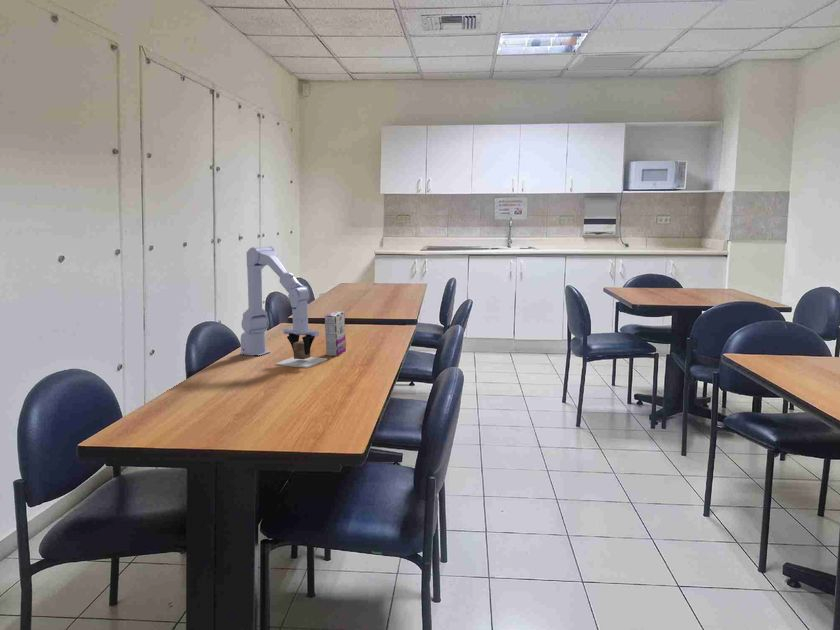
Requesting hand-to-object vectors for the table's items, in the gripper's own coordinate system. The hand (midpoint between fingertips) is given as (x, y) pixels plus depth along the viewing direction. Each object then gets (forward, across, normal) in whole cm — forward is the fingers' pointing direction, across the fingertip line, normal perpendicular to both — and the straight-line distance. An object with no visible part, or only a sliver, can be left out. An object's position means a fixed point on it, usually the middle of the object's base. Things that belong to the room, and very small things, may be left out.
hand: (301, 353), depth 242 cm
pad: (+3, 0, 0) cm, 3 cm away
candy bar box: (+4, +4, +19) cm, 20 cm away
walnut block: (+2, 0, 0) cm, 2 cm away
